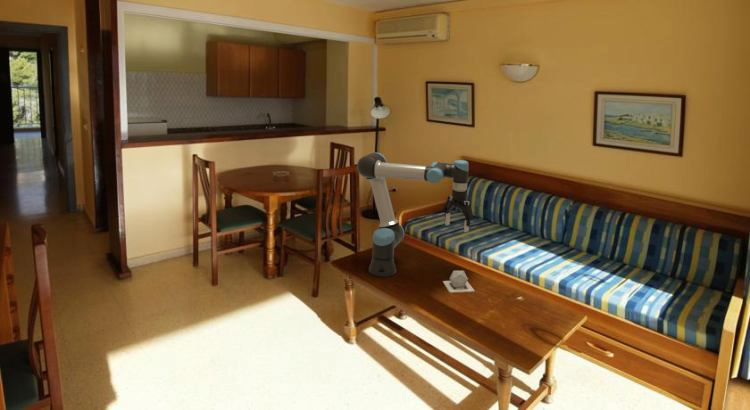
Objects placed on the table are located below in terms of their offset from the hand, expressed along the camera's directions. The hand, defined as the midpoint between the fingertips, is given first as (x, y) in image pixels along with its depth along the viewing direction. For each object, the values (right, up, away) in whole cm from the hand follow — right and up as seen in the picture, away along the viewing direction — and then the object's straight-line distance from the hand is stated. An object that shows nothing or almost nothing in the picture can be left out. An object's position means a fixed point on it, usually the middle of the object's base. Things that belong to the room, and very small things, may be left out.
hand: (456, 228), depth 263 cm
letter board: (-1, -30, -8) cm, 31 cm away
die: (-1, -30, -9) cm, 31 cm away
